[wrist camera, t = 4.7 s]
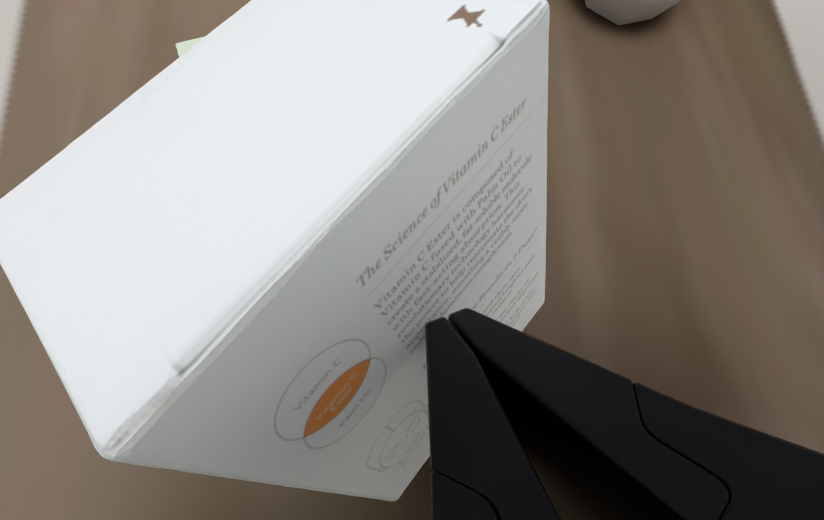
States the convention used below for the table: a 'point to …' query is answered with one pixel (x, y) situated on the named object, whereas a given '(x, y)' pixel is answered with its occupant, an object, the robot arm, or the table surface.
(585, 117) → the table surface
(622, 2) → the salt shaker
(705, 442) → the robot arm
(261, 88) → the small box
